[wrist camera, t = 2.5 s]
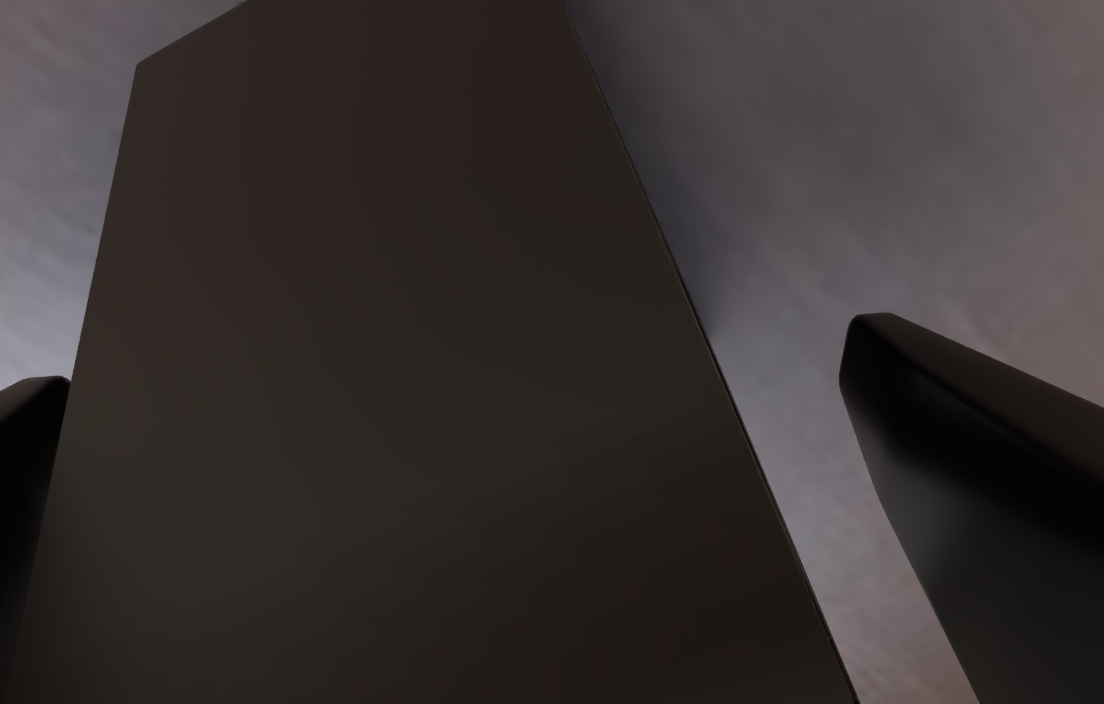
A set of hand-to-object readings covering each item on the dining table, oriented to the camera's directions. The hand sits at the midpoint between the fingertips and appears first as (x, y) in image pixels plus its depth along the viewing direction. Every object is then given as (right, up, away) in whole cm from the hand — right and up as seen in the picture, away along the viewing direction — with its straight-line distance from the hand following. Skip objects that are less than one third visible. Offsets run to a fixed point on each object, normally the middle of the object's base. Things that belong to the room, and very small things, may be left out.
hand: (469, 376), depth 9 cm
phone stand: (-1, +3, +5) cm, 5 cm away
